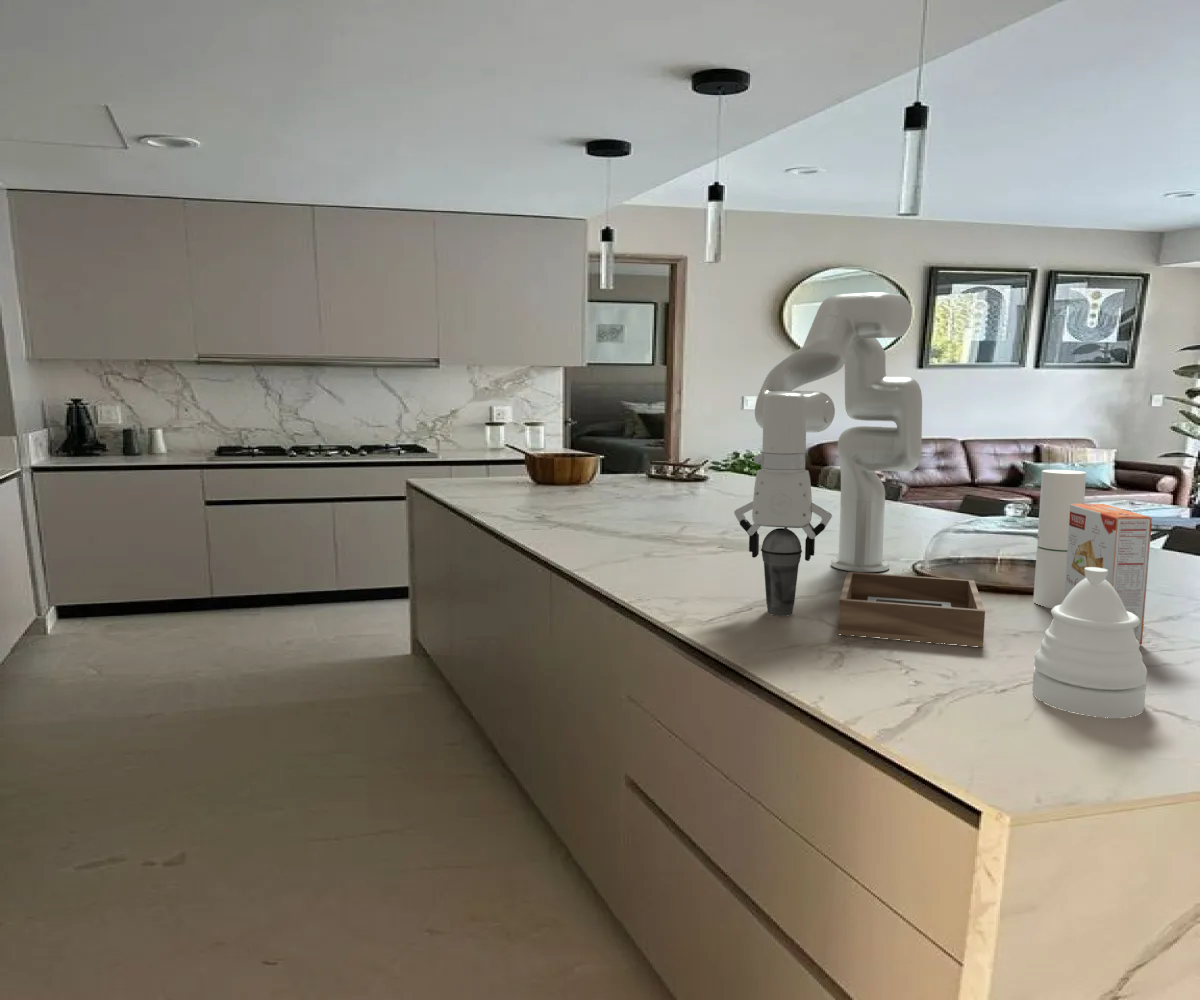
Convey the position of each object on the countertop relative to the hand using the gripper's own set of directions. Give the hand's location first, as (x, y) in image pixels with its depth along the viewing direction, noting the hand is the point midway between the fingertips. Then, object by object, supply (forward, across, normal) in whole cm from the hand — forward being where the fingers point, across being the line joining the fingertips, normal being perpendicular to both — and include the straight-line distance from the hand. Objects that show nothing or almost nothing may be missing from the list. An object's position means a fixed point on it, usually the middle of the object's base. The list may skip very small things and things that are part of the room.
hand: (781, 557), depth 153 cm
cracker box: (+10, +52, +4) cm, 53 cm away
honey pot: (+11, +44, -30) cm, 54 cm away
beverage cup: (+10, 0, 0) cm, 10 cm away
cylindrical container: (+10, +48, +22) cm, 54 cm away
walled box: (+10, +22, 0) cm, 24 cm away
